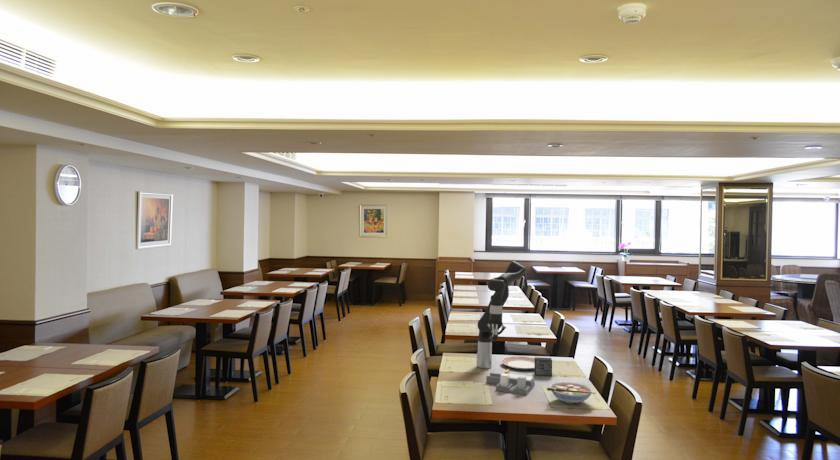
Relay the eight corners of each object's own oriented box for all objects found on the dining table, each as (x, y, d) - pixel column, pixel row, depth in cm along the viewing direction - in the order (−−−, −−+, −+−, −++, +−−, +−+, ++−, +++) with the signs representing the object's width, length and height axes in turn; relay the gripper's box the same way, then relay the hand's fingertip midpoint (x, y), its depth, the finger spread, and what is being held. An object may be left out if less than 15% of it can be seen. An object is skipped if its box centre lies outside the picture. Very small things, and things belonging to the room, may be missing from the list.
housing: (480, 388, 314) (480, 373, 314) (490, 379, 333) (490, 365, 332) (526, 394, 303) (527, 379, 303) (534, 385, 321) (534, 371, 321)
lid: (502, 377, 321) (502, 371, 321) (506, 374, 328) (506, 368, 328) (530, 381, 314) (530, 375, 314) (533, 378, 321) (533, 372, 321)
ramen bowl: (592, 397, 301) (593, 382, 301) (596, 411, 279) (596, 395, 279) (546, 393, 307) (547, 378, 307) (546, 406, 285) (547, 391, 285)
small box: (550, 373, 347) (551, 357, 347) (552, 376, 340) (552, 360, 340) (534, 372, 348) (534, 356, 348) (535, 375, 341) (535, 359, 341)
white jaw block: (500, 387, 312) (500, 375, 311) (502, 385, 315) (502, 373, 315) (506, 388, 310) (507, 376, 310) (508, 386, 314) (509, 374, 313)
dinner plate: (543, 373, 348) (543, 368, 348) (500, 370, 353) (500, 365, 353) (542, 362, 374) (542, 357, 374) (502, 359, 380) (502, 355, 380)
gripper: (508, 312, 327) (507, 341, 327) (487, 310, 332) (486, 338, 333) (504, 314, 320) (504, 343, 320) (483, 312, 326) (482, 340, 326)
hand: (495, 340), depth 326 cm, fingers closed
